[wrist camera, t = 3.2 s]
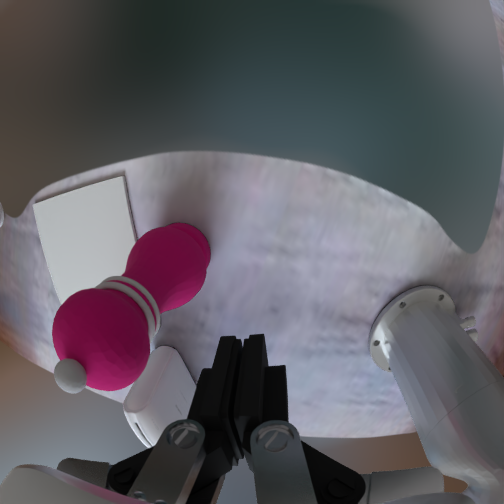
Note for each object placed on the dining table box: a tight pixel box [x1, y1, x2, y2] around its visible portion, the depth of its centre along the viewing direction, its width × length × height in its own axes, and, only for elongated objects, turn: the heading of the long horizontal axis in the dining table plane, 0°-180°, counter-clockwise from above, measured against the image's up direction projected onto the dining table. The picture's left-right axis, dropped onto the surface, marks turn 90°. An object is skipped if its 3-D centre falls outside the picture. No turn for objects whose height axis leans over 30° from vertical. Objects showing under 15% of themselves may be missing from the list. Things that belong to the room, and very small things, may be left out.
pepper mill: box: [52, 223, 210, 393], centre depth 19 cm, size 7×7×20 cm
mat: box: [33, 176, 161, 328], centre depth 29 cm, size 16×18×1 cm
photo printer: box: [123, 346, 196, 448], centre depth 28 cm, size 10×4×12 cm, turn 14°
